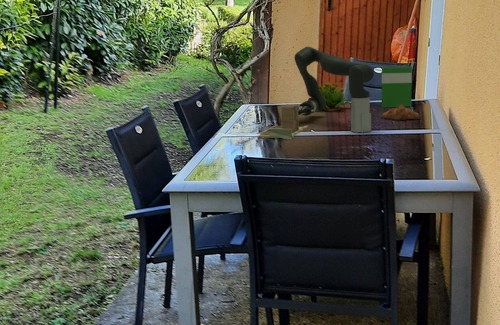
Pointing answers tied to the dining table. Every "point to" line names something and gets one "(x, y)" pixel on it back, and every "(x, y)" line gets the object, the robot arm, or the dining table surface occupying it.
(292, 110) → the walnut block
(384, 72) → the hardback book
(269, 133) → the tray
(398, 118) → the pastry
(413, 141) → the dining table surface
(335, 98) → the green leafy plant
